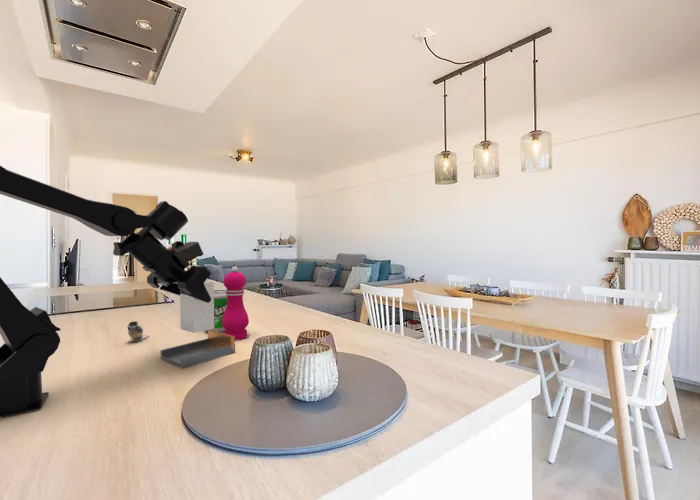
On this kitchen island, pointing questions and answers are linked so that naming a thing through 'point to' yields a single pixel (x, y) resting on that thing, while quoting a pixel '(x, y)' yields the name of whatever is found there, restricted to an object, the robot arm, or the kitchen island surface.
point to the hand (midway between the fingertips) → (202, 299)
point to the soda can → (219, 309)
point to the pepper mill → (235, 305)
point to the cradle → (200, 350)
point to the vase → (135, 331)
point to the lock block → (197, 311)
